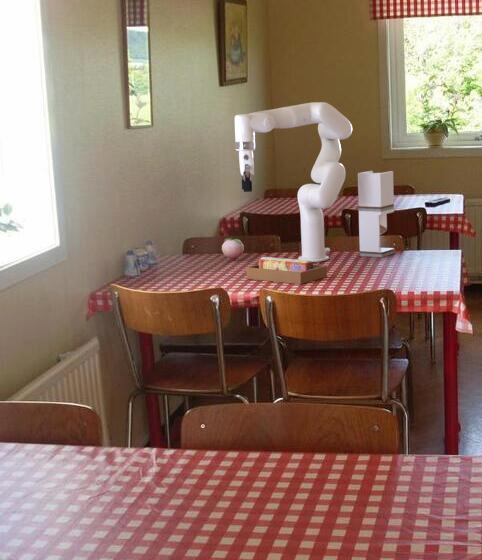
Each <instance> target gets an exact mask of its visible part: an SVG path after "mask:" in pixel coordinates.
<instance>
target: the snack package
mask: <svg viewBox="0 0 482 560" xmlns="http://www.w3.org/2000/svg"><path fill="white" fill-rule="evenodd" d="M258 264H259V268H260V269H271V270H281V271H291V272H303V271H307V270H310V269H313V264H314V262H312V261H310V260H298V258H284V257H283V258H282V257H271V256H262V257H261V258H259V261H258Z"/></svg>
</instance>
